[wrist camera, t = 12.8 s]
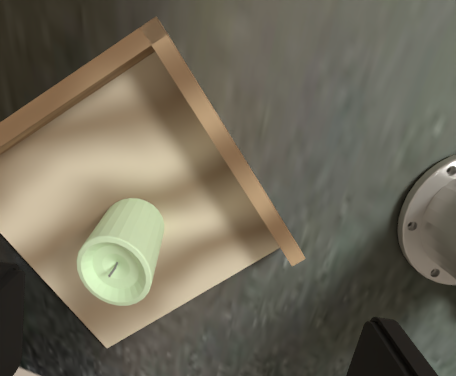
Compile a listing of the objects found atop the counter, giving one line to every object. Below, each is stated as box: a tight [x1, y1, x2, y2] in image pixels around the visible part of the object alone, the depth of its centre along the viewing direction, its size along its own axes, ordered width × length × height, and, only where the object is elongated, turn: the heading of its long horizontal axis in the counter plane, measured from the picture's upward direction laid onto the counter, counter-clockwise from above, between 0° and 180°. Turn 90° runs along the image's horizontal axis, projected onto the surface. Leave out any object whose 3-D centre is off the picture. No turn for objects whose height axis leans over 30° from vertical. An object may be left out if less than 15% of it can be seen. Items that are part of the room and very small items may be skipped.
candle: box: [76, 198, 164, 306], centre depth 26 cm, size 5×5×8 cm
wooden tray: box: [0, 17, 306, 348], centre depth 28 cm, size 20×20×4 cm
